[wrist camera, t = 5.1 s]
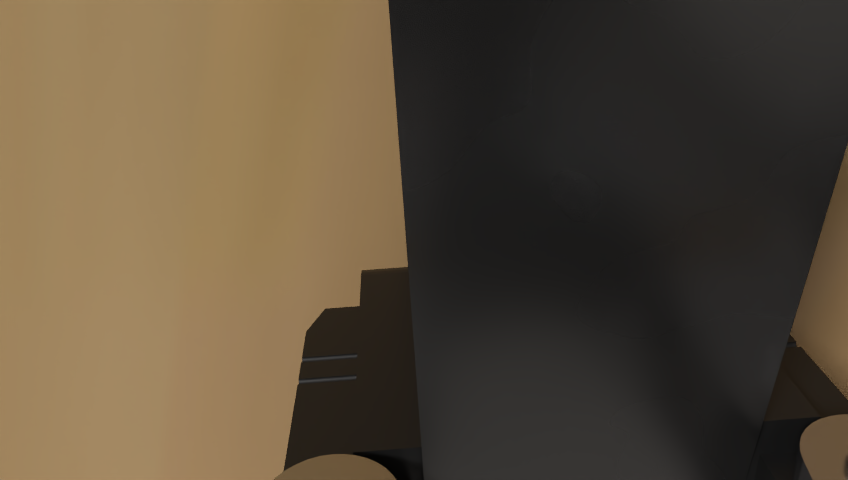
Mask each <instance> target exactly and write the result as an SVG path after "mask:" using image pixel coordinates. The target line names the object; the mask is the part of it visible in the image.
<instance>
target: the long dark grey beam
mask: <svg viewBox="0 0 848 480" xmlns="http://www.w3.org/2000/svg"><path fill="white" fill-rule="evenodd" d="M389 13H390V27H391V40H392V54H393V68H394V81H395V95H396V108H397V122H398V135H399V149H400V162H401V176H402V190H403V203H404V217H405V230H406V244H407V257H408V271H409V285H410V298H411V312H412V325H413V339H414V352H415V366H416V379H417V393H418V407H419V420H420V434H421V447H422V461H423V474H424V480H746V477H747V473H748V470H749V467H750V464H751V460H752V457H753V454H754V450H755V447H756V444H757V440H758V437H759V434H760V431H761V427H762V424H763V421H764V417H765V414H766V411H767V407H768V404H769V401H770V398H771V394H772V391H773V388H774V384H775V381H776V378H777V374H778V371H779V368H780V365H781V361H782V358H783V355H784V351H785V348H786V345H787V341H788V338H789V335H790V332H791V328H792V325H793V322H794V318H795V315H796V312H797V308H798V305H799V302H800V298H801V295H802V292H803V289H804V285H805V282H806V279H807V275H808V272H809V269H810V265H811V262H812V259H813V256H814V252H815V249H816V246H817V242H818V239H819V236H820V232H821V229H822V226H823V223H824V219H825V216H826V213H827V209H828V206H829V203H830V199H831V196H832V193H833V190H834V186H835V183H836V180H837V176H838V173H839V170H840V166H841V163H842V160H843V157H844V153H845V150H846V147H847V143H848V0H389Z"/></svg>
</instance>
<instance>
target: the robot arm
mask: <svg viewBox="0 0 848 480" xmlns="http://www.w3.org/2000/svg"><path fill="white" fill-rule="evenodd" d="M274 480H424V474H423V461H422V447H421V434H420V420H419V407H418V393H417V379H416V366H415V352H414V339H413V325H412V312H411V298H410V285H409V271H408V267H402V268H388V269H374V270H362V273H361V292H360V306H357V307H343V308H330V309H325V310H324V311H323V312H322V313H321V315H320V316H319V317H318V318H317V319H316V321H315V322H314V323H313V324H312V325H311V327H310V328H309V329H308V330H307V332H306V337H305V343H304V349H303V355H302V362H301V368H300V374H299V385H298V386H297V392H296V398H295V405H294V411H293V417H292V423H291V429H290V435H289V442H288V448H287V454H286V460H285V466H284V471H283V472H282V473H281V474H280V475H278V476H277V477H276V478H275V479H274ZM746 480H848V400H847V399H846V398H845V397H844V395H843V394H842V393H841V392H840V391H839V390H838V389H837V387H836V386H835V385H834V384H833V383H832V382H831V381H830V380H829V378H828V377H827V376H826V375H825V374H824V373H823V372H822V370H821V369H820V368H819V367H818V366H817V365H816V364H815V363H814V361H813V360H812V359H811V358H810V357H809V356H808V355H807V353H806V352H805V351H804V350H803V349H802V348H801V347H797V346H796V341H795V340H794V339H793V338H792V336H791V335H789V338H788V341H787V345H786V348H785V351H784V355H783V358H782V361H781V365H780V368H779V371H778V374H777V378H776V381H775V384H774V388H773V391H772V394H771V398H770V401H769V404H768V407H767V411H766V414H765V417H764V421H763V424H762V427H761V431H760V434H759V437H758V440H757V444H756V447H755V450H754V454H753V457H752V460H751V464H750V467H749V470H748V473H747V477H746Z"/></svg>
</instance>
